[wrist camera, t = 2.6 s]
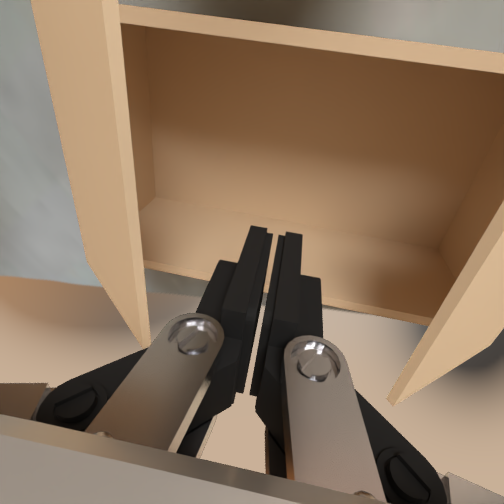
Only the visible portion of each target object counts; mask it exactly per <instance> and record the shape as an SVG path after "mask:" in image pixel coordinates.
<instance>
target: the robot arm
mask: <svg viewBox="0 0 504 504" xmlns="http://www.w3.org/2000/svg"><path fill="white" fill-rule="evenodd" d="M267 229H268V228H264V227H259V226H253V225H251V226H250V229H249V232H248V235H247V238H246V240H245V243H244V246H243V249H242V252H241V255H240V258H239V260H238V263H236V262H231V261H226V260H219V261H218V263H217V266H216V268H215V270H214V272H213V275H212V277H211V279H210V281H209V284H208V286H207V288H206V290H205V293H204V295H203V297H202V299H201V302H200V304H199V306H198V308H197V311H196V313H188V314H184V315H180V316H178V317H176V318H174V319H172V320H171V321H170V322H169V323H168V324H167V325H166V326H165V327H164V328H163V329H162V331H161V332H160V334H159V335H158V336H157V337H156V339H155V340H154V341H153V343H152V344H151V345H150V346H149V347H148V348H145V349H143V350H141V351H138V352H136V353H133V354H131V355H128V356H126V357H124V358H121V359H119V360H117V361H114V362H112V363H110V364H107V365H104V366H102V367H100V368H97V369H95V370H93V371H90V372H88V373H85V374H83V375H80V376H78V377H76V378H73V379H71V380H69V381H67V382H65V383H63V384H61V385H59V386H58V387H57V388H50V387H49V384H48V383H0V504H504V497H503V496H501V495H498V494H496V493H494V492H492V491H490V490H487V489H485V488H483V487H481V486H478V485H476V484H474V483H472V482H470V481H467V480H465V479H463V478H461V477H459V476H456V475H454V474H452V473H450V472H448V473H447V474H446V475H445V476H444V475H442V474H440V473H438V472H436V470H435V469H434V468H433V467H432V465H431V464H430V463H429V462H428V461H427V460H426V458H425V457H424V456H423V455H421V453H420V452H419V451H417V450H416V449H415V448H414V447H413V446H412V445H411V444H410V443H409V442H408V441H407V440H406V439H405V438H404V437H403V436H402V435H401V434H400V433H399V432H398V431H397V430H396V429H395V428H394V427H393V426H392V425H391V424H390V423H389V422H388V421H387V420H386V419H385V418H384V417H383V416H382V415H381V414H380V413H379V412H378V411H377V410H376V409H375V408H374V407H373V406H372V405H371V404H370V403H368V402H367V401H366V399H364V398H363V397H362V396H361V395H360V394H359V393H358V392H357V391H356V390H355V389H354V386H353V382H352V379H351V375H350V372H349V368H348V364H347V362H346V359H345V357H344V355H343V354H342V352H341V351H340V350H339V349H338V348H337V347H336V346H335V345H333V344H332V343H331V342H329V341H327V340H325V339H323V322H322V293H321V279H320V278H318V277H312V276H307V275H301V259H302V240H303V234H298V233H293V232H287V231H286V233H285V236H284V235H278V241H277V246H276V252H275V257H274V263H273V268H272V273H271V279H270V284H269V290H268V295H267V301H266V306H265V312H264V317H263V323H262V328H261V334H260V339H259V346H258V350H257V356H256V362H255V367H254V373H253V378H252V384H251V389H250V395H253V396H257V399H256V405H255V409H256V413H257V414H258V416H259V417H260V418H261V420H262V421H263V423H264V424H265V425H266V427H265V463H266V464H265V467H266V474H264V473H259V472H255V471H251V470H246V469H242V468H238V467H233V466H229V465H224V464H221V463H216V462H212V461H208V460H203V459H200V457H201V455H202V452H203V450H204V448H205V445H206V443H207V440H208V438H209V436H210V433H211V431H212V429H213V426H214V424H215V421H216V417H217V414H219V413H220V412H222V411H224V410H226V409H227V408H229V407H230V406H231V404H233V403H234V399H235V394H236V392H238V393H243V392H244V387H245V382H246V377H247V373H248V367H249V363H250V357H251V353H252V347H253V342H254V337H255V332H256V328H257V323H258V318H259V313H260V308H261V303H262V297H263V291H264V285H265V280H266V274H267V268H268V262H269V256H270V250H271V244H272V239H273V233H267Z"/></svg>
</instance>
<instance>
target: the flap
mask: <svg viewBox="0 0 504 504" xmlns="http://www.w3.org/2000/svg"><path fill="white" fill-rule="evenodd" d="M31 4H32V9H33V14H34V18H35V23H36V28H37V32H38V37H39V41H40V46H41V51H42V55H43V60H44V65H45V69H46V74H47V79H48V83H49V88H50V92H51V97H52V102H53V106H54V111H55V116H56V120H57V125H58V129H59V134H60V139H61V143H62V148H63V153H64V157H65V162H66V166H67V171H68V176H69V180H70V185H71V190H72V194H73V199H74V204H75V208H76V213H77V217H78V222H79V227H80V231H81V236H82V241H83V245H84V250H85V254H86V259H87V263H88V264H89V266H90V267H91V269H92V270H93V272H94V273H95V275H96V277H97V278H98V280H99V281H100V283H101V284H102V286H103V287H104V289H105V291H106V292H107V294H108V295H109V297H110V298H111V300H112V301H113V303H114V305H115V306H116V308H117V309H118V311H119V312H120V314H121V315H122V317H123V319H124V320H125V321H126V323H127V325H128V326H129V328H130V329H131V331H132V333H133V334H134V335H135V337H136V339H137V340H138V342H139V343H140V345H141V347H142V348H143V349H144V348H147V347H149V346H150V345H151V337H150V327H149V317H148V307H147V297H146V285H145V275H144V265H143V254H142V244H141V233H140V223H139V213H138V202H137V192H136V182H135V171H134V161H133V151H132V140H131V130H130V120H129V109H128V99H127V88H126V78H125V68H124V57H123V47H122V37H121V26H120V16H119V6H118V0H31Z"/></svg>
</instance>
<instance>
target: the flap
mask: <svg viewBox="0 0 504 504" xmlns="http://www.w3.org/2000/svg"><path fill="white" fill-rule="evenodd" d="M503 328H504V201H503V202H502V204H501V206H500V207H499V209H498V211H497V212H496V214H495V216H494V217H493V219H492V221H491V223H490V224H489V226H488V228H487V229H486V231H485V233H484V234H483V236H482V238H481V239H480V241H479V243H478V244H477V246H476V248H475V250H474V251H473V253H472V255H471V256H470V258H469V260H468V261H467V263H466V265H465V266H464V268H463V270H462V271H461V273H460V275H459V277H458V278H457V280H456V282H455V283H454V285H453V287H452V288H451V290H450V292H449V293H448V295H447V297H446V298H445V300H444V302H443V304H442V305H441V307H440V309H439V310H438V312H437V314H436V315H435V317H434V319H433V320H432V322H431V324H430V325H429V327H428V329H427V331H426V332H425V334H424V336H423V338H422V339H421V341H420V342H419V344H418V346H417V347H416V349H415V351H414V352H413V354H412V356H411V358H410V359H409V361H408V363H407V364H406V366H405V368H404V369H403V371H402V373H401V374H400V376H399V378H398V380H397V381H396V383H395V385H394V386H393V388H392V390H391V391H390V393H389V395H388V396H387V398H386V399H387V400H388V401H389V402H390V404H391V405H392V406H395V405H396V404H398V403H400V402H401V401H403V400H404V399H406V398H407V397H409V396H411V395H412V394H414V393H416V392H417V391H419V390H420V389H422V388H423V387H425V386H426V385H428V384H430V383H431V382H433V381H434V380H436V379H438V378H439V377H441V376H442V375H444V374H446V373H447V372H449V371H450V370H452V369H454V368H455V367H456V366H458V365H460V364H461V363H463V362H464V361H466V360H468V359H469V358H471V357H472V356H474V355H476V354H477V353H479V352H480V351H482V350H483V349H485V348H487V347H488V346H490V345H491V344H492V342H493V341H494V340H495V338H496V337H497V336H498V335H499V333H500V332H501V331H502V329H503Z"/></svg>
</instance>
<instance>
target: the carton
mask: <svg viewBox="0 0 504 504" xmlns="http://www.w3.org/2000/svg"><path fill="white" fill-rule="evenodd" d="M118 6H119V16H120V26H121V37H122V47H123V57H124V68H125V78H126V88H127V99H128V109H129V120H130V130H131V140H132V151H133V161H134V171H135V182H136V192H137V202H138V213H139V223H140V233H141V244H142V254H143V265H144V268H148V269H153V270H158V271H163V272H168V273H173V274H178V275H183V276H187V277H192V278H197V279H202V280H207V281H210V279H211V277H212V275H213V272H214V270H215V268H216V266H217V263H218V261H219V260H226V261H231V262H236V263H238V260H239V258H240V255H241V252H242V249H243V246H244V243H245V240H246V238H247V235H248V232H249V229H250V226H251V225H253V226H259V227H264V228H268V229H267V233H273V239H272V244H271V250H270V256H269V262H268V268H267V274H266V280H265V285H264V291H263V292H265V293H268V290H269V284H270V279H271V273H272V268H273V263H274V257H275V252H276V246H277V241H278V235H284V236H285V233H286V231H287V232H293V233H298V234H303V240H302V259H301V275H307V276H312V277H318V278H320V279H321V293H322V304H324V305H329V306H334V307H338V308H343V309H348V310H353V311H358V312H363V313H368V314H373V315H377V316H382V317H387V318H392V319H397V320H402V321H407V322H412V323H417V324H421V325H426V326H429V325H430V324H431V322H432V320H433V319H434V317H435V315H436V314H437V312H438V310H439V309H440V307H441V305H442V304H443V302H444V300H445V298H446V297H447V295H448V293H449V292H450V290H451V288H452V287H453V285H454V283H455V282H456V280H457V278H458V277H459V275H460V273H461V271H462V270H463V268H464V266H465V265H466V263H467V261H468V260H469V258H470V256H471V255H472V253H473V251H474V250H475V248H476V246H477V244H478V243H479V241H480V239H481V238H482V236H483V234H484V233H485V231H486V229H487V228H488V226H489V224H490V223H491V221H492V219H493V217H494V216H495V214H496V212H497V211H498V209H499V207H500V206H501V204H502V202H503V201H504V53H497V52H489V51H482V50H474V49H466V48H458V47H450V46H442V45H435V44H427V43H419V42H411V41H403V40H396V39H388V38H380V37H372V36H364V35H356V34H349V33H341V32H333V31H325V30H317V29H309V28H302V27H294V26H286V25H278V24H270V23H262V22H255V21H247V20H239V19H231V18H223V17H215V16H208V15H200V14H192V13H184V12H176V11H168V10H161V9H153V8H145V7H137V6H129V5H121V4H118Z"/></svg>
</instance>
